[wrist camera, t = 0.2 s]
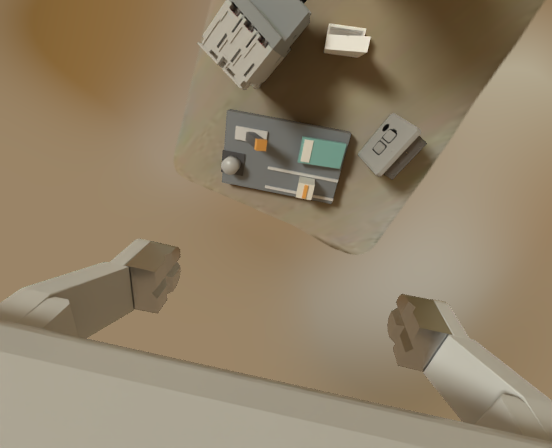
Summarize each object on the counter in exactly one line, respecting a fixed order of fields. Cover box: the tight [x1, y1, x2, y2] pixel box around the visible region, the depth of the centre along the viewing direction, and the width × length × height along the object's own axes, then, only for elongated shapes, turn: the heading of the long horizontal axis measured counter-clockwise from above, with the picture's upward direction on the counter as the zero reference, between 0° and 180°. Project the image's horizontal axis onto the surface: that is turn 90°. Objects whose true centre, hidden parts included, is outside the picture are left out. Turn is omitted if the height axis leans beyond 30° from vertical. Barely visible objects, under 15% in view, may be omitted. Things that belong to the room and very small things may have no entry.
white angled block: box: [324, 24, 371, 58], centre depth 42 cm, size 4×10×9 cm, turn 83°
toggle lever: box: [245, 132, 267, 151], centre depth 48 cm, size 2×2×6 cm
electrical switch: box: [358, 113, 427, 180], centre depth 48 cm, size 9×5×9 cm, turn 146°
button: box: [221, 155, 241, 175], centre depth 54 cm, size 3×3×2 cm
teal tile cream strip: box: [298, 136, 347, 169], centre depth 50 cm, size 8×5×1 cm, turn 81°
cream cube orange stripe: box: [296, 176, 315, 200], centre depth 53 cm, size 3×3×4 cm
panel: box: [221, 109, 351, 204], centre depth 54 cm, size 14×23×3 cm, turn 81°
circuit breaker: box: [197, 0, 311, 90], centre depth 40 cm, size 8×14×15 cm, turn 136°
